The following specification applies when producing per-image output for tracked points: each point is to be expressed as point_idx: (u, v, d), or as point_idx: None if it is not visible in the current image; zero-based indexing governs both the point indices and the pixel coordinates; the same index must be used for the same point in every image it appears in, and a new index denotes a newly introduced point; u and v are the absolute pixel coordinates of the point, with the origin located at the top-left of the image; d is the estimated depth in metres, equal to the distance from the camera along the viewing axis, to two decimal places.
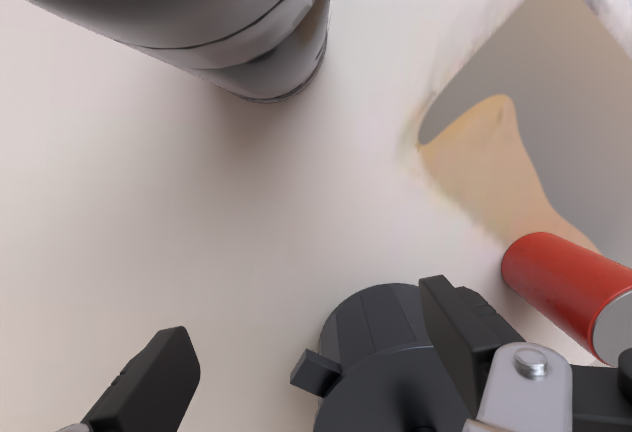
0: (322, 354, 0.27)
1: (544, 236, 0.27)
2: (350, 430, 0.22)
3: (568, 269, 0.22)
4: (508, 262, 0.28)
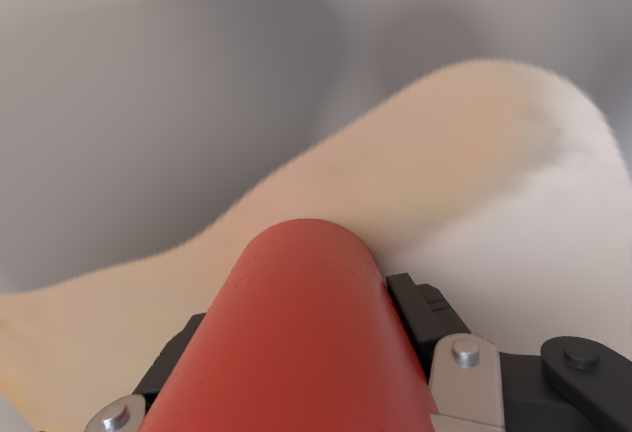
0: None
1: None
2: None
3: None
4: None
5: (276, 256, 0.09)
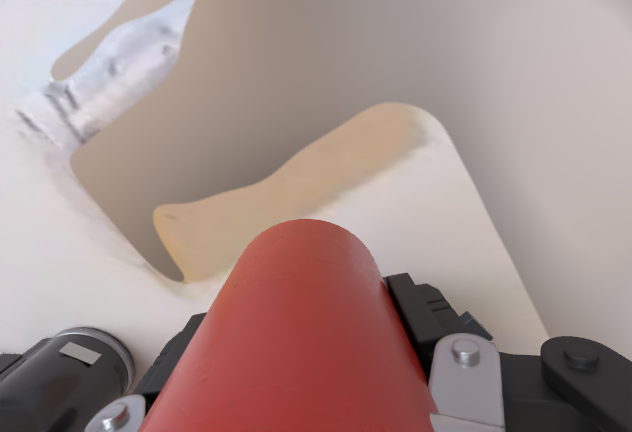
0: None
1: None
2: None
3: None
4: None
5: (276, 255, 0.09)
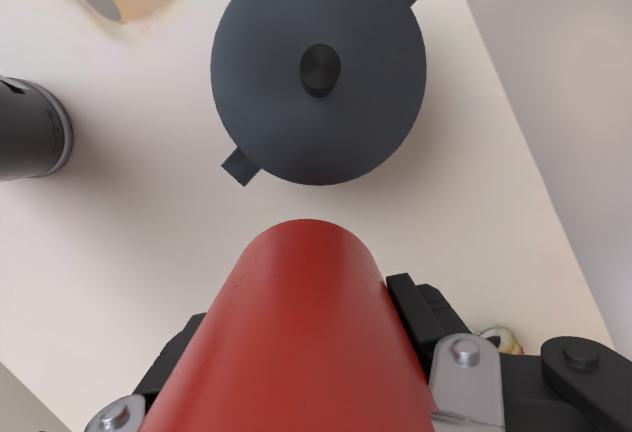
0: None
1: None
2: (288, 145, 0.23)
3: None
4: None
5: (276, 256, 0.09)
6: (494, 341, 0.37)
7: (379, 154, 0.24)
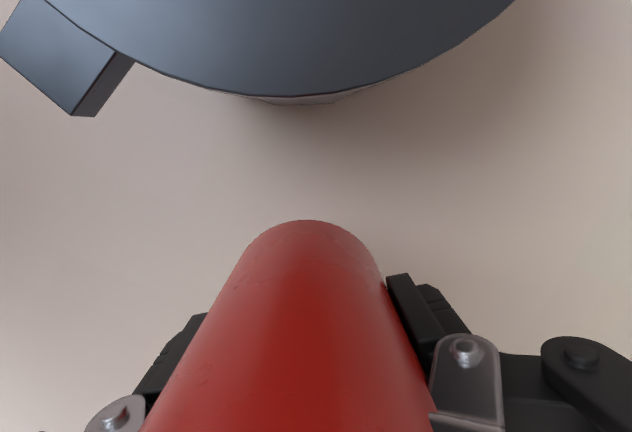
0: None
1: None
2: None
3: None
4: None
5: (277, 257, 0.09)
6: None
7: None
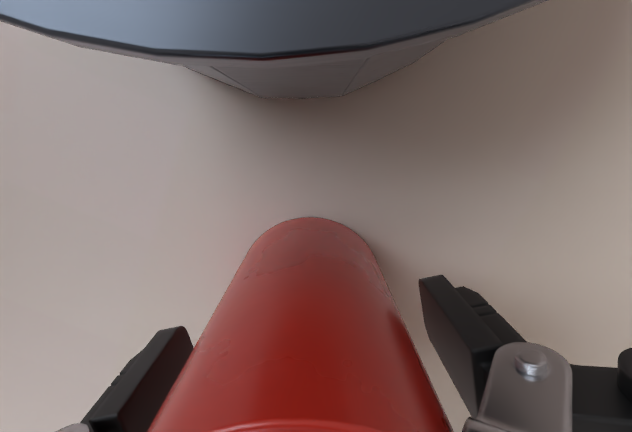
0: None
1: None
2: None
3: None
4: None
5: (283, 250, 0.10)
6: None
7: None
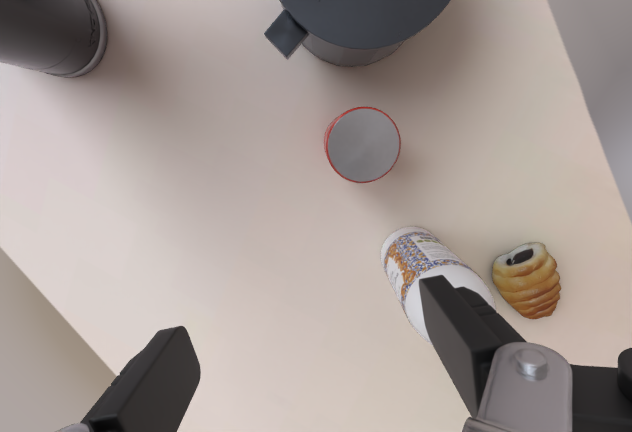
0: (311, 45, 0.29)
1: (324, 138, 0.34)
2: (335, 4, 0.23)
3: None
4: None
5: None
6: (527, 254, 0.36)
7: (426, 14, 0.23)
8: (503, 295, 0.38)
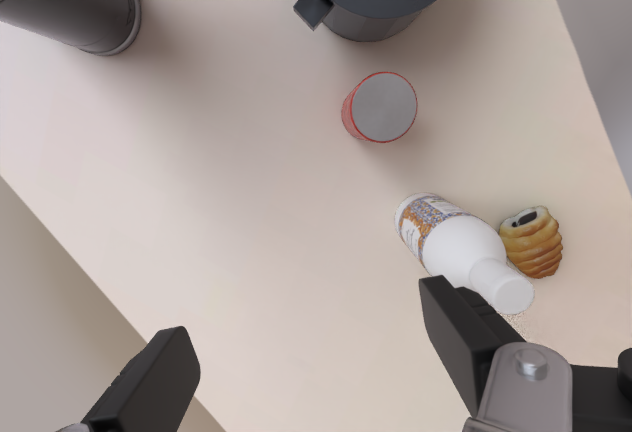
0: (332, 20, 0.32)
1: (342, 109, 0.37)
2: None
3: (349, 125, 0.32)
4: (356, 137, 0.38)
5: None
6: (531, 216, 0.39)
7: None
8: (509, 256, 0.41)
